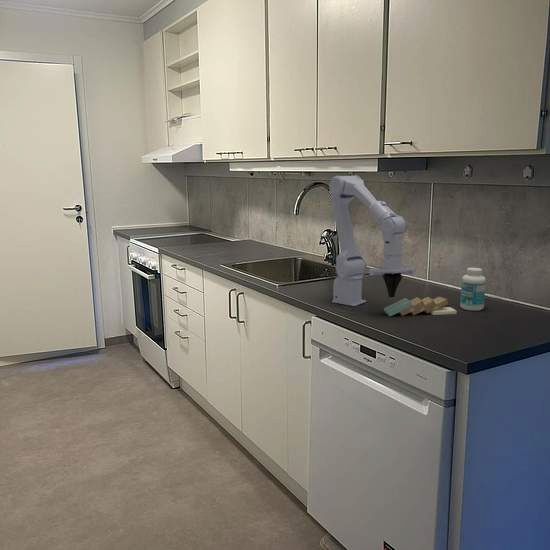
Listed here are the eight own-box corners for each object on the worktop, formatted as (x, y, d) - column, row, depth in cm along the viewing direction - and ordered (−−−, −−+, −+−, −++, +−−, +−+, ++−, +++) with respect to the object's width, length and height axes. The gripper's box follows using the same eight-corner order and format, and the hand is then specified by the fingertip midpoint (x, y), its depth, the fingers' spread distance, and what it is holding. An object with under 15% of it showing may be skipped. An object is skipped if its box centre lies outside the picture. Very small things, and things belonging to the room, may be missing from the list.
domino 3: (411, 311, 170) (433, 300, 170) (406, 307, 174) (427, 296, 174) (413, 315, 170) (435, 304, 170) (407, 311, 174) (429, 300, 175)
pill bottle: (455, 306, 180) (457, 267, 177) (472, 304, 182) (475, 266, 179) (470, 312, 173) (473, 271, 170) (488, 310, 175) (491, 269, 173)
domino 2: (400, 311, 169) (422, 300, 169) (395, 307, 173) (417, 297, 174) (402, 316, 169) (424, 304, 170) (397, 312, 174) (418, 301, 174)
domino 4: (426, 308, 170) (447, 299, 172) (418, 306, 175) (439, 296, 176) (427, 313, 171) (448, 303, 172) (420, 310, 175) (440, 300, 177)
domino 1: (388, 312, 169) (410, 301, 169) (383, 308, 173) (405, 297, 173) (389, 316, 169) (412, 305, 169) (385, 312, 173) (407, 302, 173)
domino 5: (432, 311, 170) (456, 310, 171) (427, 308, 175) (450, 307, 176) (432, 316, 171) (456, 315, 171) (427, 312, 175) (450, 311, 176)
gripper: (373, 257, 163) (372, 300, 166) (419, 256, 164) (417, 298, 167) (367, 253, 170) (366, 295, 173) (411, 252, 171) (410, 293, 174)
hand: (391, 296), depth 170 cm, fingers closed
